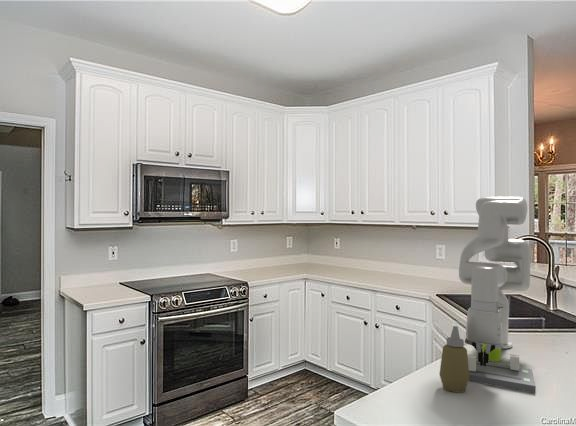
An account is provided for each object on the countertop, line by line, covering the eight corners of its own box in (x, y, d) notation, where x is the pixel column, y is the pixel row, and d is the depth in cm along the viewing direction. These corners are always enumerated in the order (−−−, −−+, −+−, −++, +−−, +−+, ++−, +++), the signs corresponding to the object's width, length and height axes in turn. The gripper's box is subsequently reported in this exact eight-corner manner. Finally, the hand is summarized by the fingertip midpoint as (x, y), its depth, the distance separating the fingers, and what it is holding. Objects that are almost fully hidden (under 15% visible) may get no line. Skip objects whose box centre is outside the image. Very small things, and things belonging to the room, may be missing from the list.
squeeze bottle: (433, 385, 124) (434, 324, 124) (454, 382, 127) (455, 322, 127) (453, 396, 116) (455, 331, 116) (475, 392, 119) (477, 329, 120)
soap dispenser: (493, 355, 154) (494, 300, 154) (504, 361, 147) (505, 304, 147) (478, 354, 154) (479, 300, 154) (487, 361, 147) (488, 304, 147)
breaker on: (509, 366, 135) (510, 353, 135) (518, 367, 134) (519, 355, 134) (510, 369, 132) (510, 356, 132) (519, 370, 131) (519, 357, 131)
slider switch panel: (457, 362, 144) (458, 356, 144) (531, 375, 134) (531, 368, 134) (453, 378, 130) (453, 371, 130) (535, 393, 120) (535, 385, 120)
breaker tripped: (467, 367, 133) (467, 354, 133) (476, 368, 132) (476, 355, 132) (466, 370, 131) (467, 357, 131) (475, 371, 129) (475, 358, 130)
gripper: (511, 306, 130) (510, 365, 130) (459, 300, 137) (458, 357, 137) (511, 311, 124) (510, 373, 124) (457, 305, 130) (456, 364, 130)
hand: (483, 364), depth 130 cm, fingers closed
